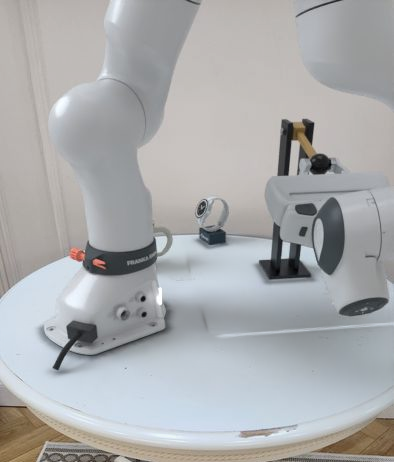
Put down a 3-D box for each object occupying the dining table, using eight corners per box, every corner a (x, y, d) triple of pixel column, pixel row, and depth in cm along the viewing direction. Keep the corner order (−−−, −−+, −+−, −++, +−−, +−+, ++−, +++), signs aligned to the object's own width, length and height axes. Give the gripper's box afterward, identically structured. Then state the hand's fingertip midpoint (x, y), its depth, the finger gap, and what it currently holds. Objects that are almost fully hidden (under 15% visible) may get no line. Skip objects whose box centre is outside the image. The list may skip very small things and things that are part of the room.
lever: (330, 179, 90) (335, 158, 87) (310, 180, 89) (313, 159, 87) (302, 137, 102) (305, 118, 99) (284, 138, 101) (287, 118, 99)
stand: (310, 279, 111) (329, 124, 95) (268, 282, 110) (280, 125, 94) (297, 262, 119) (313, 116, 103) (258, 265, 118) (268, 117, 102)
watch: (192, 241, 130) (191, 196, 124) (221, 236, 133) (222, 192, 127) (202, 249, 126) (202, 202, 120) (232, 243, 129) (233, 198, 123)
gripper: (408, 207, 82) (383, 143, 88) (279, 213, 79) (263, 147, 86) (392, 234, 87) (369, 172, 94) (271, 240, 85) (256, 177, 91)
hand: (317, 160), depth 90 cm, fingers closed on lever, 3 cm apart
